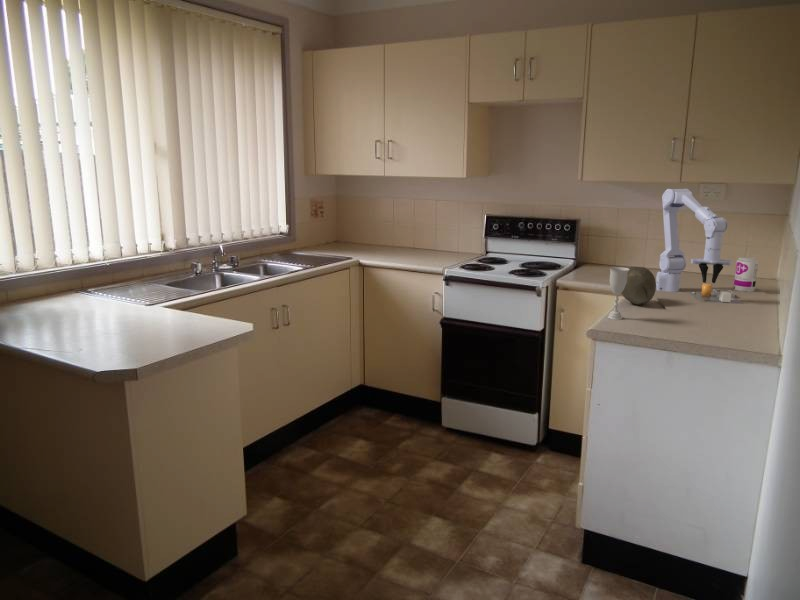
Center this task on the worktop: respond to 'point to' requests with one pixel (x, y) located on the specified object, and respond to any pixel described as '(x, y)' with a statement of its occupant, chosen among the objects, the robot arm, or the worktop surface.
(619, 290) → the chalice
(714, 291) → the frame
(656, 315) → the worktop surface
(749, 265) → the supplement can
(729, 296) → the handle
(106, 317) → the worktop surface
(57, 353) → the worktop surface
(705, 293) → the cap
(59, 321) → the worktop surface
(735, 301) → the breaker panel
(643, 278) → the cantaloupe
